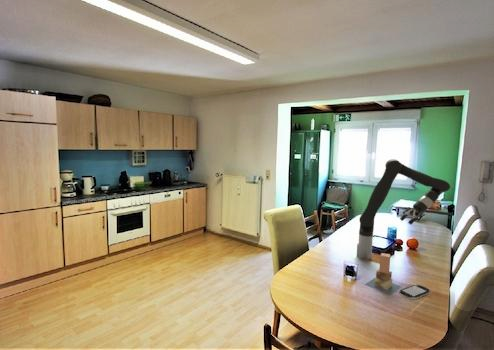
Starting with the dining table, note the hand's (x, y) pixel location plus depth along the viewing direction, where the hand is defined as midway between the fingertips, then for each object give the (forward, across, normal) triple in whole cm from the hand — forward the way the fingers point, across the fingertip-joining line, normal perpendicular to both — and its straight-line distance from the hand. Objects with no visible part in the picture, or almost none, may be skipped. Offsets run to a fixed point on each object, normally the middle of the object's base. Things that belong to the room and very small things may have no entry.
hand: (405, 221), depth 179 cm
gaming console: (+32, +30, +15) cm, 46 cm away
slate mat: (+41, +22, +5) cm, 47 cm away
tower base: (+41, +22, +4) cm, 46 cm away
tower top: (+38, +22, +1) cm, 43 cm away
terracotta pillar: (+34, +22, -2) cm, 41 cm away
